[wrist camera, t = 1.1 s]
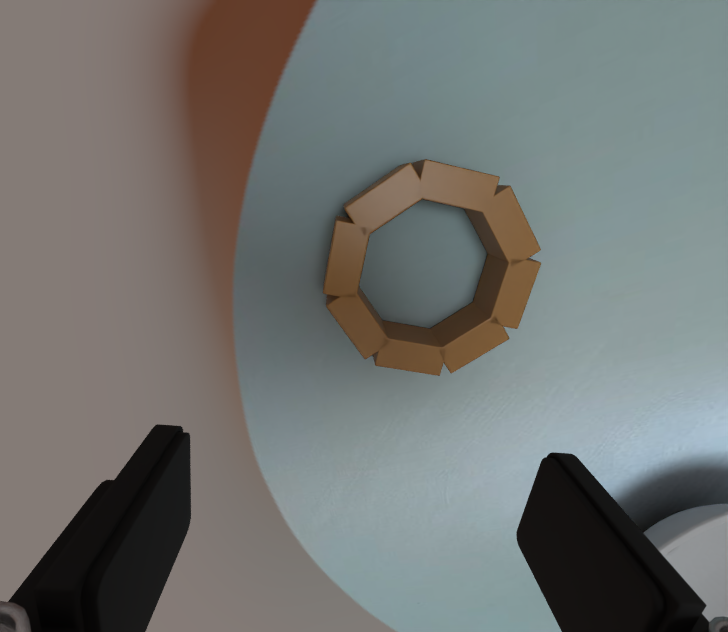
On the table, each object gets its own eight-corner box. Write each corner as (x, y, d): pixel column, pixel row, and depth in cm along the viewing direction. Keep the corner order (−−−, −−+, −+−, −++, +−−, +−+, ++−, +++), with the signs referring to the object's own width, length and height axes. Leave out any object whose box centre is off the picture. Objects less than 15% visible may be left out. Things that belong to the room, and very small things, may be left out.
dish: (684, 422, 28) (754, 470, 24) (790, 499, 32) (869, 554, 27) (527, 571, 33) (559, 637, 28) (636, 626, 36) (681, 692, 31)
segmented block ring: (290, 240, 22) (283, 249, 19) (457, 125, 21) (477, 116, 18) (391, 380, 26) (398, 405, 23) (540, 290, 24) (567, 304, 21)
